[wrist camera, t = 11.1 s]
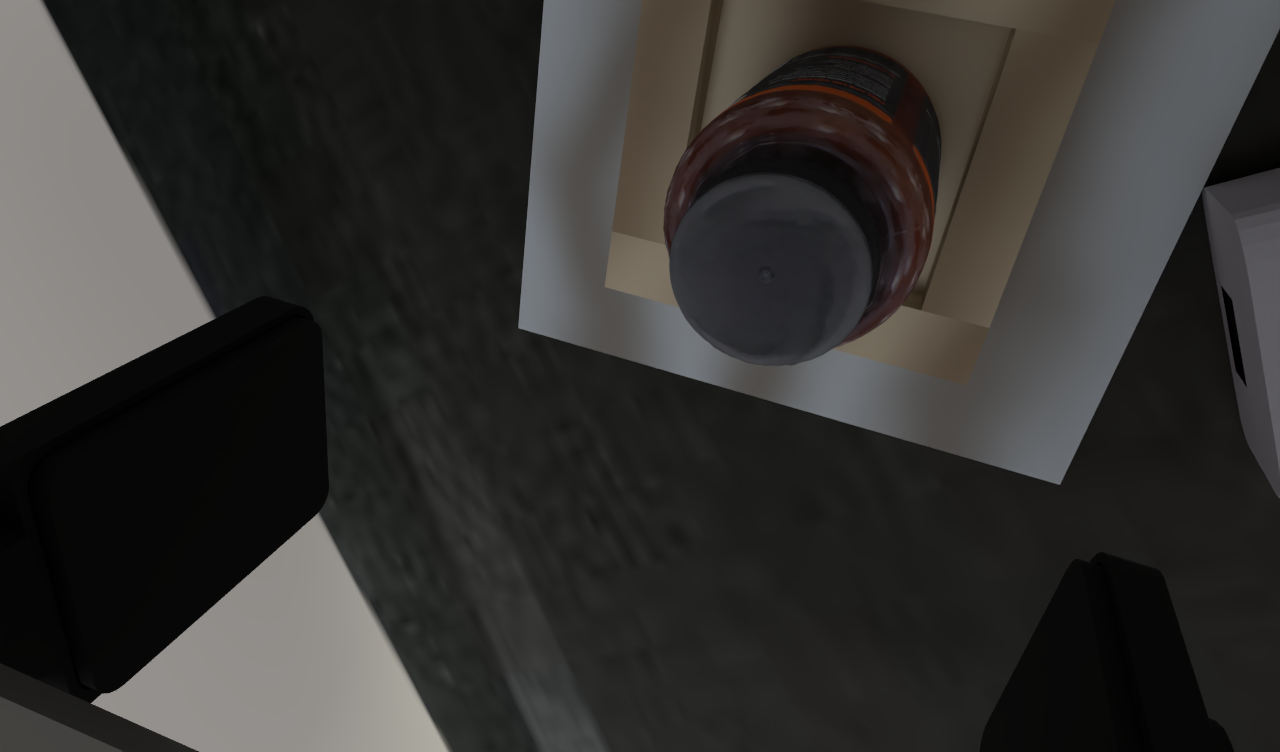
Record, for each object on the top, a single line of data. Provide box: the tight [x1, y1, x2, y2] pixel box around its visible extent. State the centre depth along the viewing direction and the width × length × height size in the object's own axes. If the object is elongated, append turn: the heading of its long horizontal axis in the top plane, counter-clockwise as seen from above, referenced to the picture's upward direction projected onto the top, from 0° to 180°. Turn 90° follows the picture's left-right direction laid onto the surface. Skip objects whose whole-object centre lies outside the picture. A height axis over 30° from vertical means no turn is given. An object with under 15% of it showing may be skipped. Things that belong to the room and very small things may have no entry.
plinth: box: [518, 0, 1280, 485], centre depth 27 cm, size 22×22×5 cm
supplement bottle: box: [663, 46, 942, 366], centre depth 21 cm, size 6×6×11 cm
